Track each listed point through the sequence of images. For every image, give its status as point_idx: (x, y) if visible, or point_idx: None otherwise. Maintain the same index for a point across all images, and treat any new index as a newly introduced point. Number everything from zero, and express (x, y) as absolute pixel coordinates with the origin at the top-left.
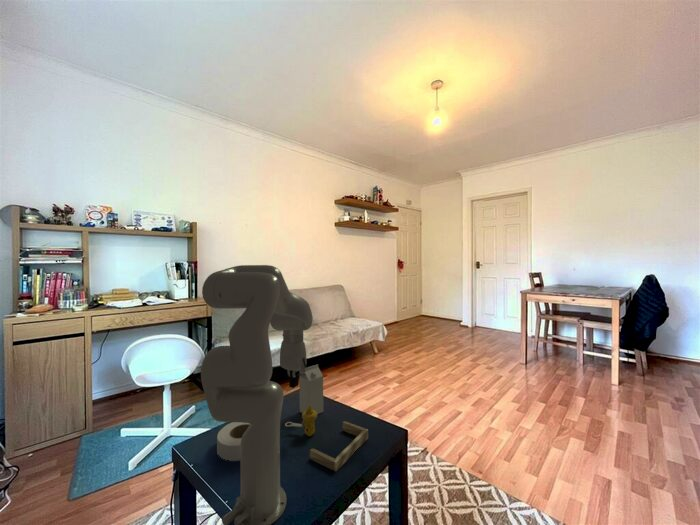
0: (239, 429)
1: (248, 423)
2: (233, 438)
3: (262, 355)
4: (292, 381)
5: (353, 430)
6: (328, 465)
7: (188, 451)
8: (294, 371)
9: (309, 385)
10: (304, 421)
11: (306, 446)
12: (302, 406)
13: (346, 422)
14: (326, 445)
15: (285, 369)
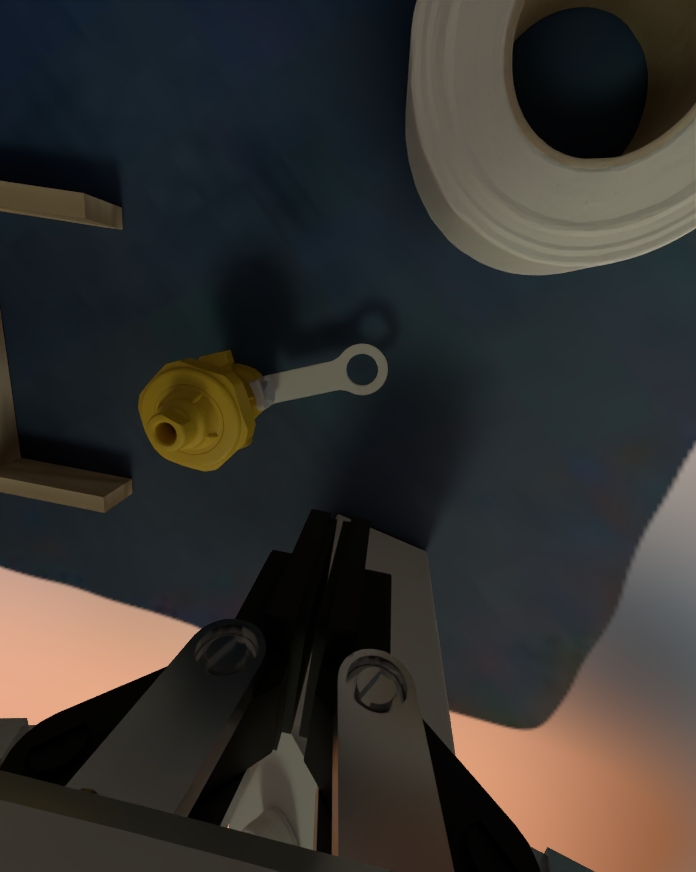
0: (676, 114)
1: (633, 169)
2: None
3: None
4: (287, 564)
5: (54, 475)
6: None
7: None
8: (105, 776)
9: None
10: (251, 395)
11: (204, 295)
12: (400, 563)
13: (87, 503)
14: (125, 346)
15: (568, 859)
